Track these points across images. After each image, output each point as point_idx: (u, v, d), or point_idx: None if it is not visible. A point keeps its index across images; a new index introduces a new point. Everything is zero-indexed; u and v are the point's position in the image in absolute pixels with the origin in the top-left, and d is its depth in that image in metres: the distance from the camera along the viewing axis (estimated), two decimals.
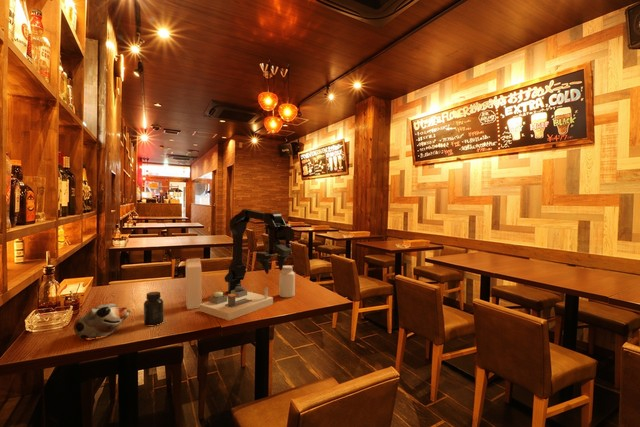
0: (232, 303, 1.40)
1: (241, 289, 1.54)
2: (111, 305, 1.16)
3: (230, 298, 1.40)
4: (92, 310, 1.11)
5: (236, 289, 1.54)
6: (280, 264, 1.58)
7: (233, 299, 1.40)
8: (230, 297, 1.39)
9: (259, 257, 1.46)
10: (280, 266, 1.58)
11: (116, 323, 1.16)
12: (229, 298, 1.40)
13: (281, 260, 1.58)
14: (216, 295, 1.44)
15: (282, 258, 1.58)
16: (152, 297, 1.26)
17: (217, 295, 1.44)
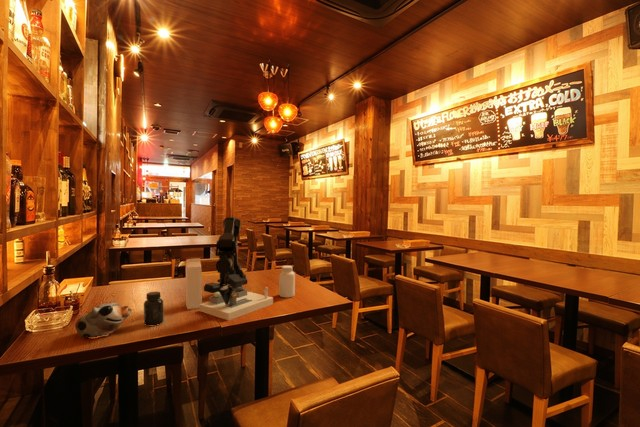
0: (233, 303, 1.40)
1: (241, 289, 1.54)
2: (113, 304, 1.17)
3: (231, 298, 1.40)
4: (95, 309, 1.12)
5: (236, 289, 1.54)
6: None
7: (234, 299, 1.40)
8: (231, 297, 1.40)
9: (207, 289, 1.31)
10: None
11: (118, 322, 1.17)
12: (230, 298, 1.40)
13: None
14: (216, 295, 1.44)
15: (229, 290, 1.38)
16: (152, 297, 1.26)
17: (217, 295, 1.44)
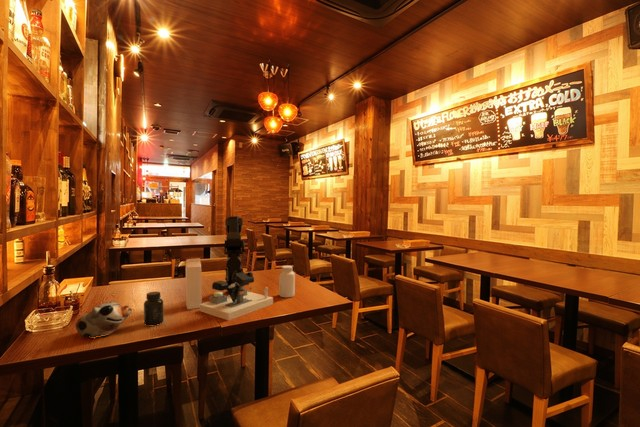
0: (240, 300, 1.43)
1: (241, 289, 1.54)
2: (113, 304, 1.18)
3: (238, 295, 1.43)
4: (95, 309, 1.13)
5: None
6: None
7: (241, 296, 1.44)
8: (238, 294, 1.43)
9: (215, 287, 1.34)
10: None
11: (119, 321, 1.17)
12: None
13: (235, 290, 1.42)
14: (216, 295, 1.44)
15: None
16: (152, 297, 1.26)
17: (217, 295, 1.44)
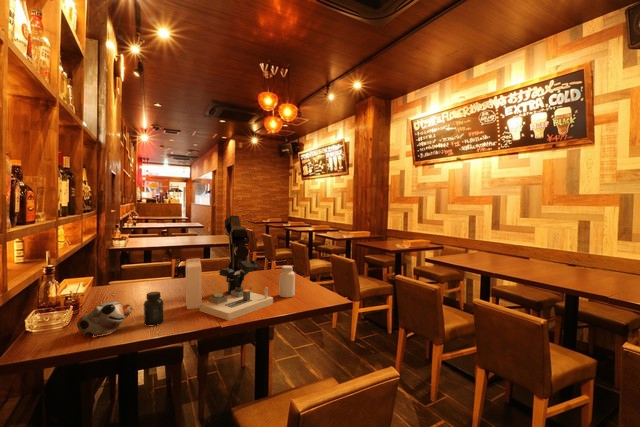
0: (247, 298, 1.47)
1: (241, 289, 1.54)
2: (115, 303, 1.19)
3: (245, 293, 1.47)
4: (97, 308, 1.14)
5: (236, 289, 1.54)
6: None
7: (248, 294, 1.47)
8: (245, 292, 1.46)
9: (222, 273, 1.48)
10: None
11: (120, 320, 1.18)
12: (244, 293, 1.47)
13: (240, 277, 1.56)
14: (216, 295, 1.44)
15: (241, 275, 1.55)
16: (152, 297, 1.26)
17: (217, 295, 1.44)
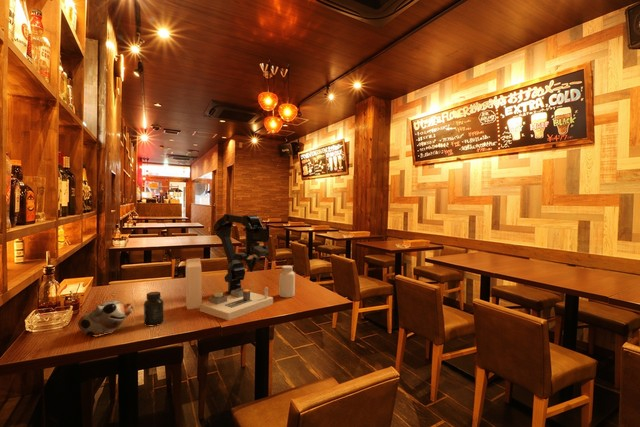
0: (247, 298, 1.47)
1: None
2: (116, 302, 1.20)
3: (245, 293, 1.47)
4: (99, 307, 1.15)
5: None
6: None
7: (248, 294, 1.47)
8: (245, 292, 1.46)
9: (236, 258, 1.54)
10: None
11: (121, 319, 1.19)
12: (244, 293, 1.47)
13: None
14: (216, 295, 1.44)
15: (253, 260, 1.62)
16: (152, 297, 1.26)
17: (217, 295, 1.44)
